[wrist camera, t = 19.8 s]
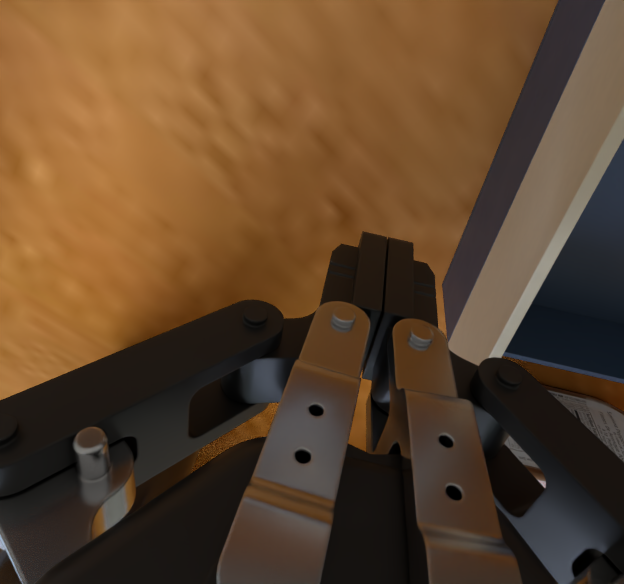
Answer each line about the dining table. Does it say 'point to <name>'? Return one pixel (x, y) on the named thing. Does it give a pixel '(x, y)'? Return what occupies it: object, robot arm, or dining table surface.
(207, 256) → the dining table surface
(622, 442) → the tin
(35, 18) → the dining table surface
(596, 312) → the carton
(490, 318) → the carton flap
